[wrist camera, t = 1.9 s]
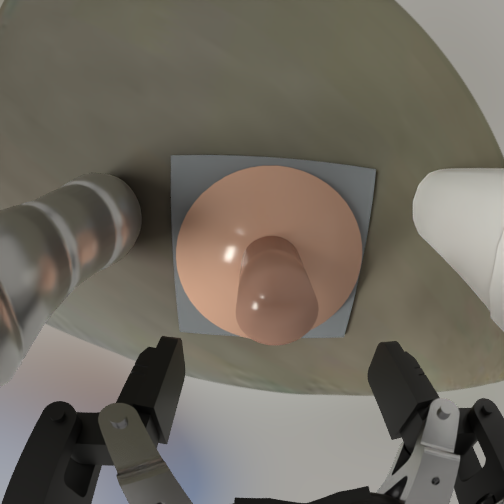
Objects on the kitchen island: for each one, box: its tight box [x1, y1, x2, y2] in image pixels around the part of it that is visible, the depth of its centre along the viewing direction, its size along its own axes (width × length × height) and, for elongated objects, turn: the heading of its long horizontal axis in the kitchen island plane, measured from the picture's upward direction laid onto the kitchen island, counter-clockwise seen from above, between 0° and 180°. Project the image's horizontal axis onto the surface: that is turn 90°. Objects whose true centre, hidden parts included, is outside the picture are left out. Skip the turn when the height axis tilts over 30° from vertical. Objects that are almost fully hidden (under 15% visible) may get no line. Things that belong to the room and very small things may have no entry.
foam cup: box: [413, 168, 504, 332], centre depth 12 cm, size 10×9×13 cm
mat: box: [171, 155, 376, 338], centre depth 20 cm, size 14×14×1 cm
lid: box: [176, 165, 362, 345], centre depth 16 cm, size 13×13×7 cm
